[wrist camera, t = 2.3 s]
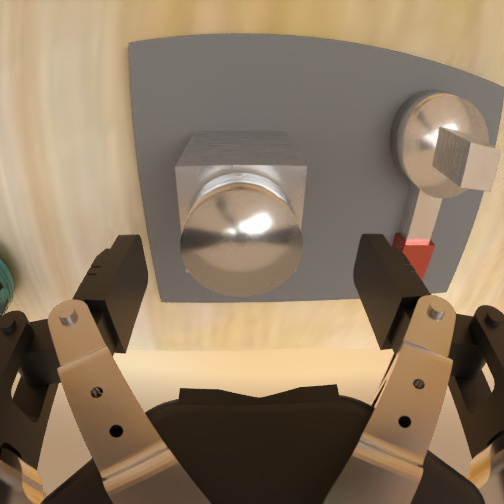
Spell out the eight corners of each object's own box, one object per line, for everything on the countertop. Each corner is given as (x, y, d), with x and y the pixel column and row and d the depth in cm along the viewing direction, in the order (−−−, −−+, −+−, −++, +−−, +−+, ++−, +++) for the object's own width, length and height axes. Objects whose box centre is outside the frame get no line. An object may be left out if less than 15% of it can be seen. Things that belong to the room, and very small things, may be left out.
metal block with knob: (199, 211, 19) (180, 302, 13) (194, 131, 17) (164, 187, 10) (281, 211, 20) (303, 300, 13) (285, 131, 17) (318, 186, 10)
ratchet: (357, 289, 24) (378, 340, 19) (396, 80, 15) (446, 94, 11) (425, 285, 24) (452, 330, 19) (475, 101, 15) (529, 123, 11)
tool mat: (163, 295, 24) (161, 302, 23) (132, 43, 14) (128, 42, 13) (442, 286, 25) (446, 292, 24) (498, 85, 15) (504, 87, 14)
